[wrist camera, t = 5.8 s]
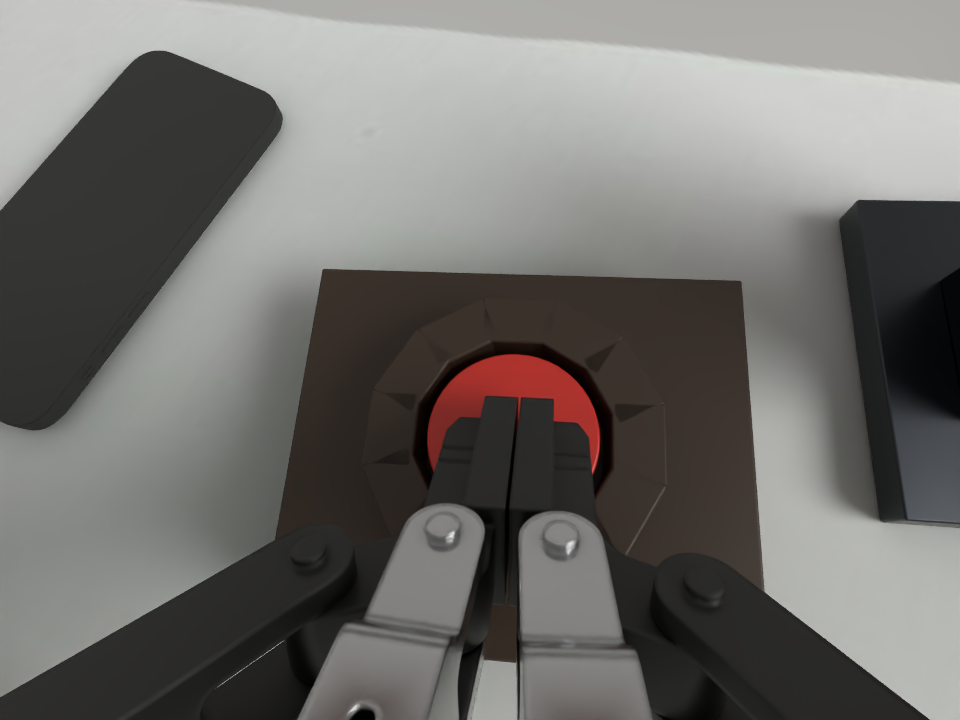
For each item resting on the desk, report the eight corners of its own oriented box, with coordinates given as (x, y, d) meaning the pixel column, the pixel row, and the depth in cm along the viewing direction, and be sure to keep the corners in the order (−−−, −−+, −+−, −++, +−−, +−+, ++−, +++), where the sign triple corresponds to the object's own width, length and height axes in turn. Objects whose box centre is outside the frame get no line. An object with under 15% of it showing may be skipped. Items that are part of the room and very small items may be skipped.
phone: (289, 100, 22) (28, 440, 18) (297, 116, 23) (49, 445, 19) (146, 41, 24) (-119, 342, 20) (159, 58, 24) (-95, 350, 21)
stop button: (430, 521, 14) (417, 518, 13) (445, 370, 15) (435, 349, 14) (591, 533, 14) (599, 532, 12) (593, 377, 15) (601, 357, 13)
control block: (305, 621, 17) (217, 650, 12) (353, 310, 20) (298, 236, 15) (725, 661, 16) (811, 712, 11) (708, 323, 19) (768, 247, 14)
